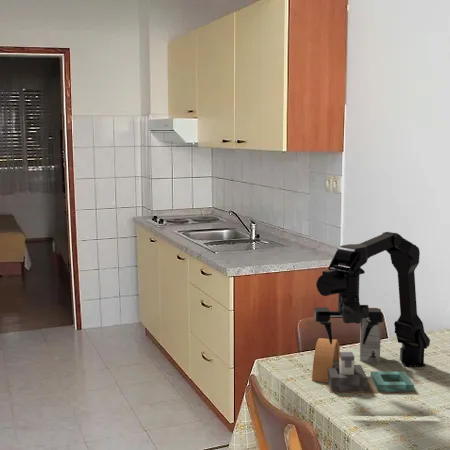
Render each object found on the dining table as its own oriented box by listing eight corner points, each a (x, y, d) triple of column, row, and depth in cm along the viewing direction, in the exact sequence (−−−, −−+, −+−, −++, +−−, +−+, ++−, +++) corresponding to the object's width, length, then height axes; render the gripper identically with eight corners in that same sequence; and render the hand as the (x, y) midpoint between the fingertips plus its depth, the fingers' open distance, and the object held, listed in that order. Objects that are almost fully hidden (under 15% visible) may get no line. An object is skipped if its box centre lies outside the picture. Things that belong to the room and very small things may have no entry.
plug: (351, 381, 181) (352, 352, 180) (354, 387, 177) (354, 357, 175) (338, 381, 181) (339, 352, 180) (341, 387, 177) (342, 357, 176)
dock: (405, 380, 185) (405, 363, 184) (416, 396, 173) (417, 379, 172) (324, 379, 185) (324, 363, 185) (329, 396, 174) (330, 378, 173)
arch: (340, 361, 199) (341, 331, 198) (331, 385, 181) (331, 352, 179) (322, 359, 201) (322, 329, 200) (311, 383, 182) (311, 350, 181)
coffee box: (359, 354, 207) (360, 307, 205) (379, 355, 206) (380, 308, 203) (359, 364, 198) (361, 315, 196) (380, 365, 197) (382, 316, 195)
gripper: (319, 297, 168) (317, 353, 170) (388, 298, 167) (386, 354, 169) (314, 287, 179) (313, 340, 181) (379, 288, 178) (377, 340, 180)
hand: (347, 344), depth 178 cm, fingers open, 9 cm apart
